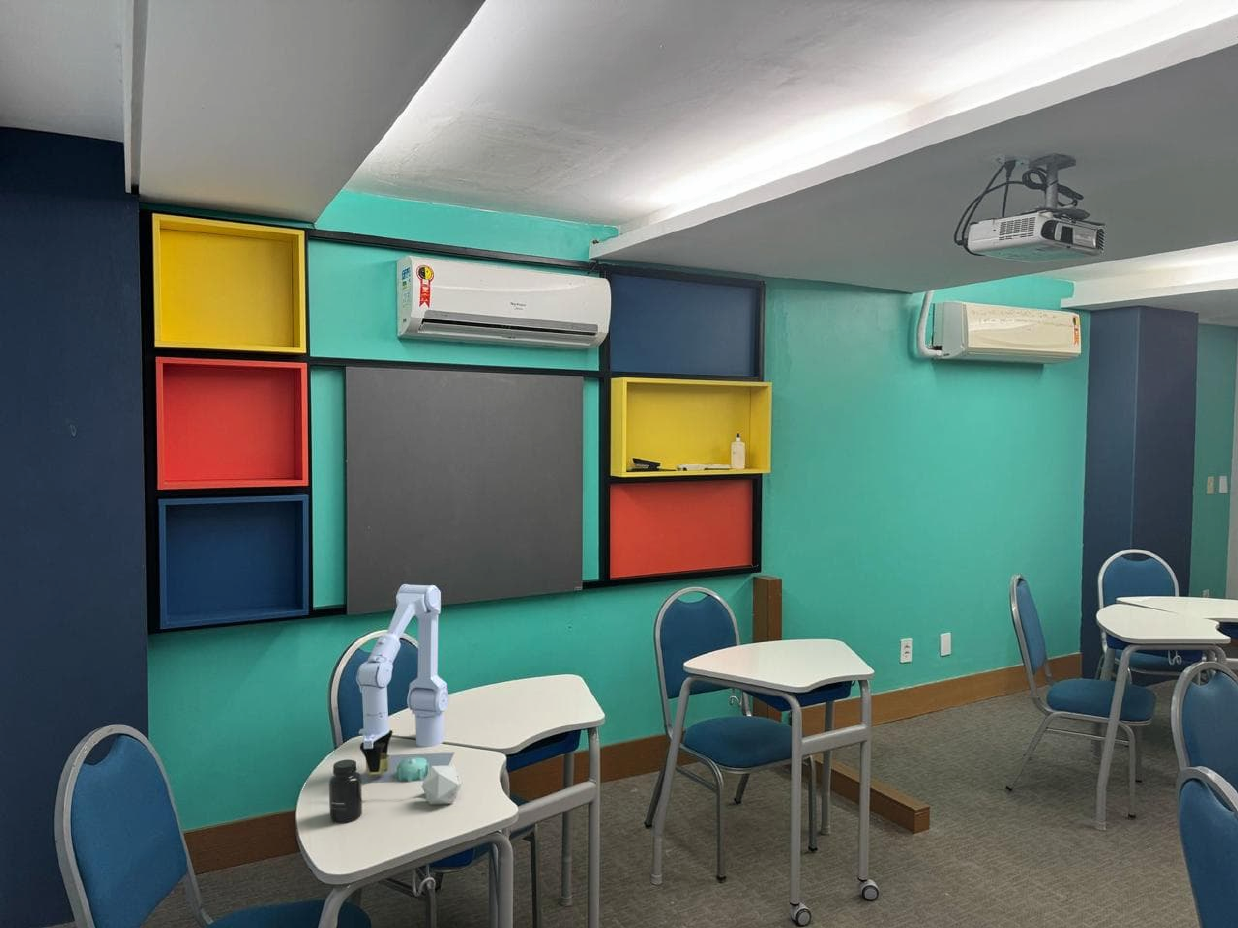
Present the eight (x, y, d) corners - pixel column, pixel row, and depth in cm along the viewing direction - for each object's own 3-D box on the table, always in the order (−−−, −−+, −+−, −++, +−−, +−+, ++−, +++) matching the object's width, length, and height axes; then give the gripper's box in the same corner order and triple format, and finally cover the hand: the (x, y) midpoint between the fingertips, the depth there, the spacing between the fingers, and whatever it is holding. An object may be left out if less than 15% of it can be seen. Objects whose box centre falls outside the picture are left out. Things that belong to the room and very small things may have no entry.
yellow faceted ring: (370, 765, 204) (369, 752, 204) (390, 764, 204) (390, 752, 204) (364, 774, 199) (363, 761, 199) (385, 773, 199) (384, 760, 199)
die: (442, 816, 184) (466, 775, 186) (410, 795, 185) (434, 755, 188) (449, 813, 192) (472, 774, 194) (418, 793, 193) (441, 754, 196)
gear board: (377, 758, 215) (376, 740, 215) (454, 756, 216) (453, 737, 216) (357, 787, 198) (356, 767, 198) (441, 784, 199) (440, 764, 198)
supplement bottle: (331, 826, 179) (328, 771, 178) (328, 813, 185) (326, 760, 185) (364, 819, 182) (362, 765, 181) (360, 807, 188) (358, 754, 187)
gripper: (367, 702, 208) (369, 755, 209) (349, 722, 194) (352, 779, 195) (395, 701, 209) (397, 754, 209) (379, 721, 194) (382, 778, 195)
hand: (377, 766), depth 202 cm, fingers closed on yellow faceted ring, 5 cm apart
